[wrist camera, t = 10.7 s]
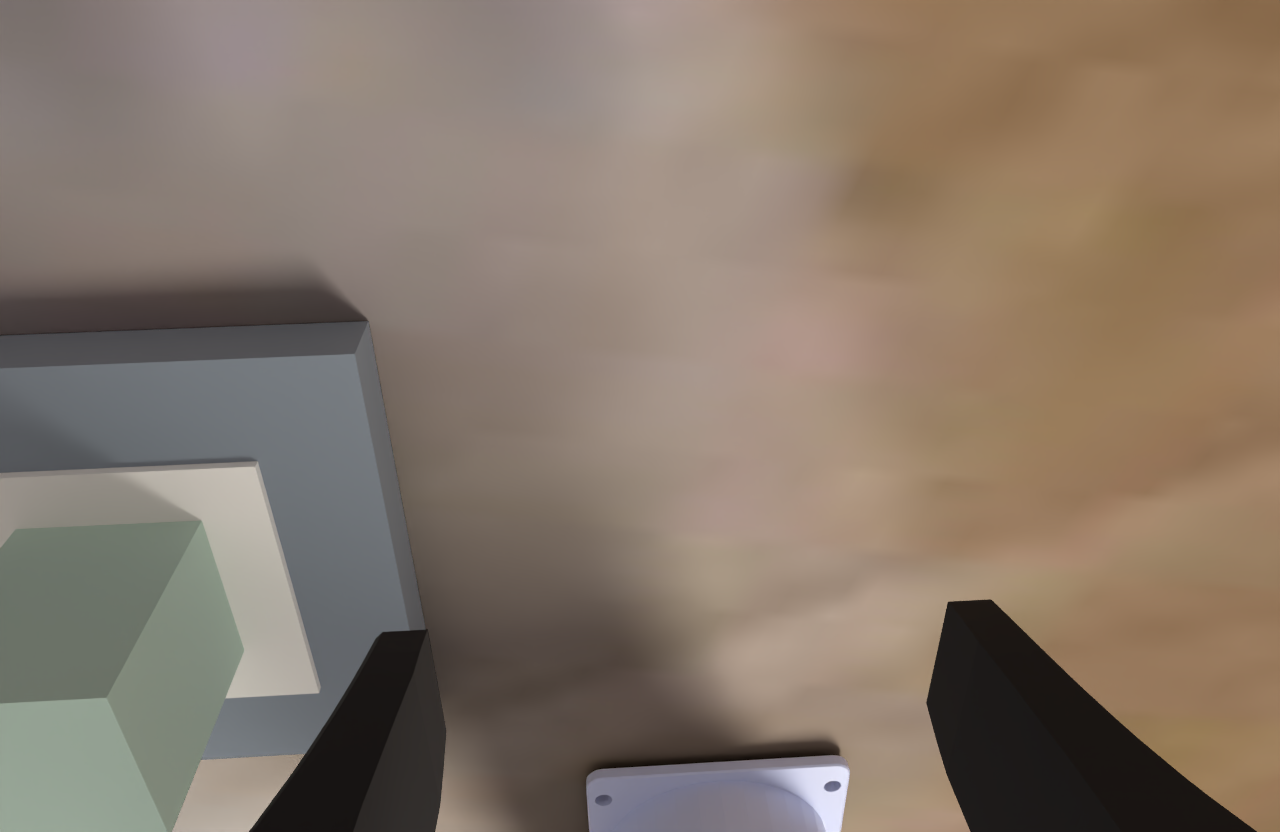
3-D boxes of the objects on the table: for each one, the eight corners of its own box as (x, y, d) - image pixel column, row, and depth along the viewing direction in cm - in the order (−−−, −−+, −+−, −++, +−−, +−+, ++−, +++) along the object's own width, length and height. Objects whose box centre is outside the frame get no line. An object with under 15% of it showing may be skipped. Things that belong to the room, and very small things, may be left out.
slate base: (439, 702, 27) (431, 752, 25) (4, 727, 26) (-29, 779, 25) (368, 321, 20) (352, 358, 19) (-208, 343, 20) (-269, 384, 18)
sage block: (244, 650, 23) (169, 836, 19) (75, 659, 23) (-38, 849, 18) (201, 520, 21) (106, 697, 17) (15, 528, 21) (-130, 710, 16)
